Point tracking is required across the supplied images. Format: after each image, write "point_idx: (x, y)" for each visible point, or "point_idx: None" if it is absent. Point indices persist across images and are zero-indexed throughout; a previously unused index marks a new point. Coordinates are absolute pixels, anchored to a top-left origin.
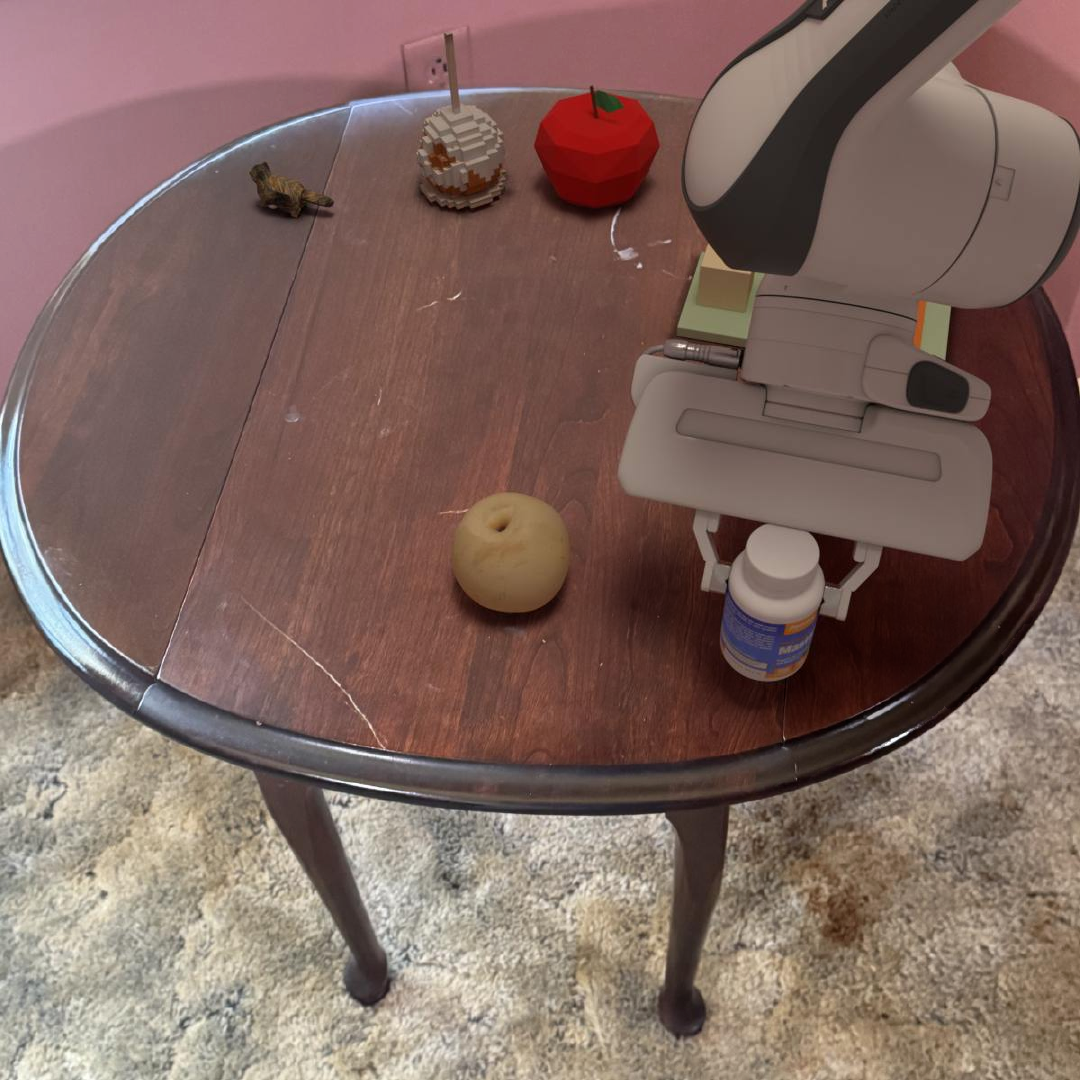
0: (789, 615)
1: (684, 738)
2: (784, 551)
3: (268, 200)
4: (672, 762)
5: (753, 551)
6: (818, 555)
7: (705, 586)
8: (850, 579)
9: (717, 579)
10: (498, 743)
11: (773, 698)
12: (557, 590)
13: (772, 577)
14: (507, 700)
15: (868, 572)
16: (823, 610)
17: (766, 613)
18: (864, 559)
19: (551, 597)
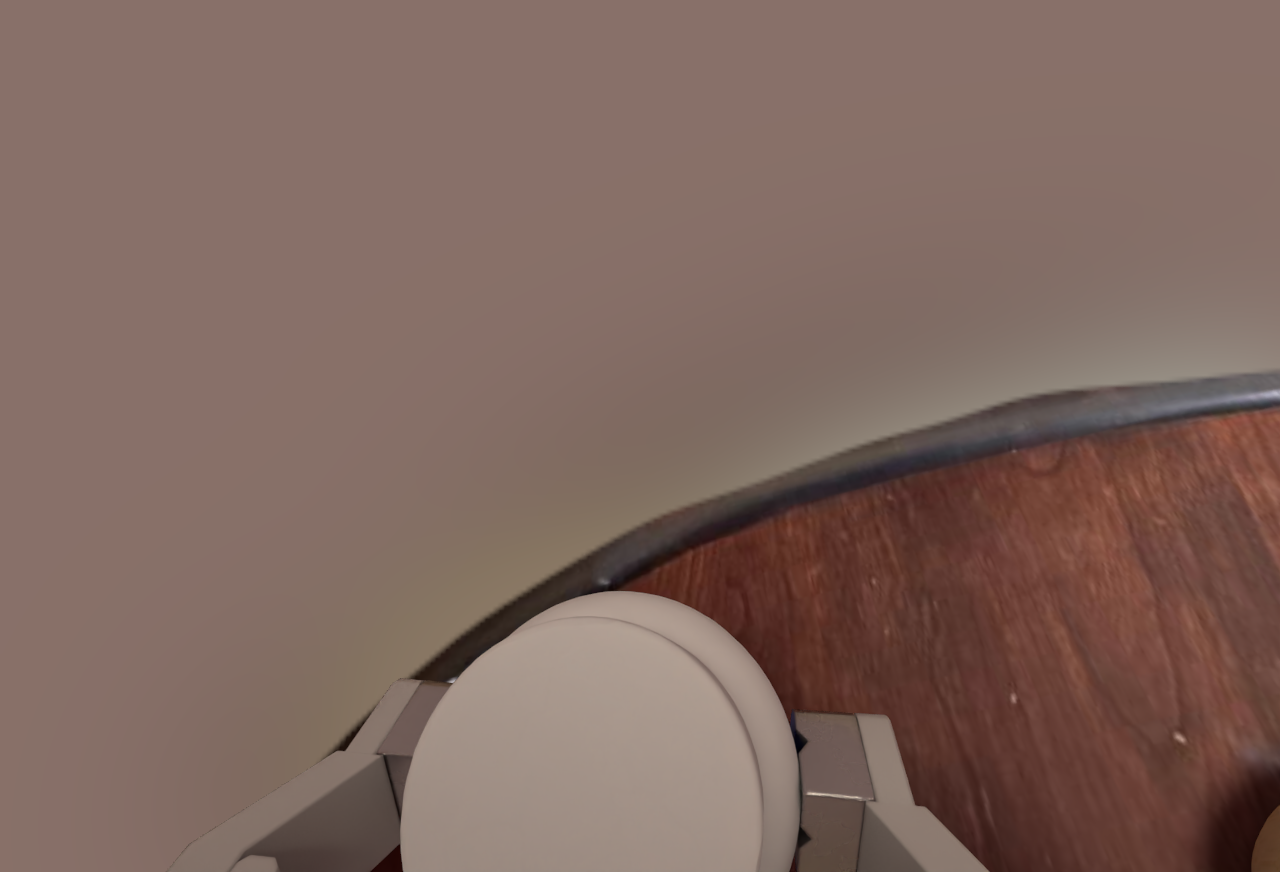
0: (561, 603)
1: (786, 559)
2: (566, 791)
3: None
4: (796, 506)
5: (719, 760)
6: (404, 793)
7: (872, 719)
8: (331, 788)
9: (838, 745)
10: (1134, 466)
11: None
12: (1269, 865)
13: (613, 619)
14: (1172, 561)
15: (244, 814)
16: None
17: (638, 593)
18: (232, 869)
19: (1267, 840)
